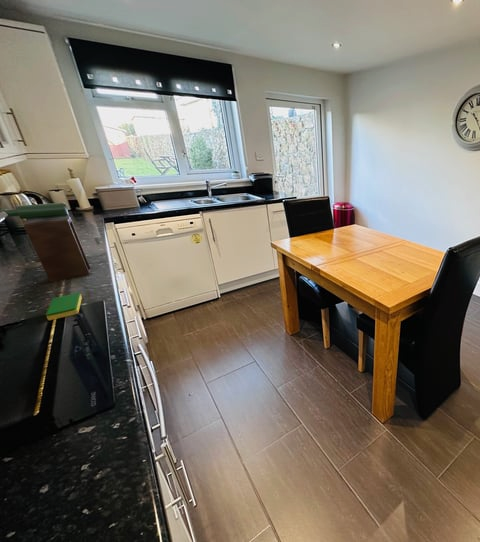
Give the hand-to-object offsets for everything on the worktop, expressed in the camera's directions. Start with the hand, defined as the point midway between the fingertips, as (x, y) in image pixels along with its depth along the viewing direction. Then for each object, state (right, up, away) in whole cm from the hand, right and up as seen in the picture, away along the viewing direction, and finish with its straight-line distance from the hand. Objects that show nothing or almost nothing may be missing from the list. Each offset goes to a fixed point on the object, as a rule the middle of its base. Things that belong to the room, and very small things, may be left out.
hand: (7, 212), depth 104 cm
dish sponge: (+30, -35, -8) cm, 47 cm away
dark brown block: (+7, -24, +17) cm, 30 cm away
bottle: (+4, +1, +4) cm, 6 cm away
